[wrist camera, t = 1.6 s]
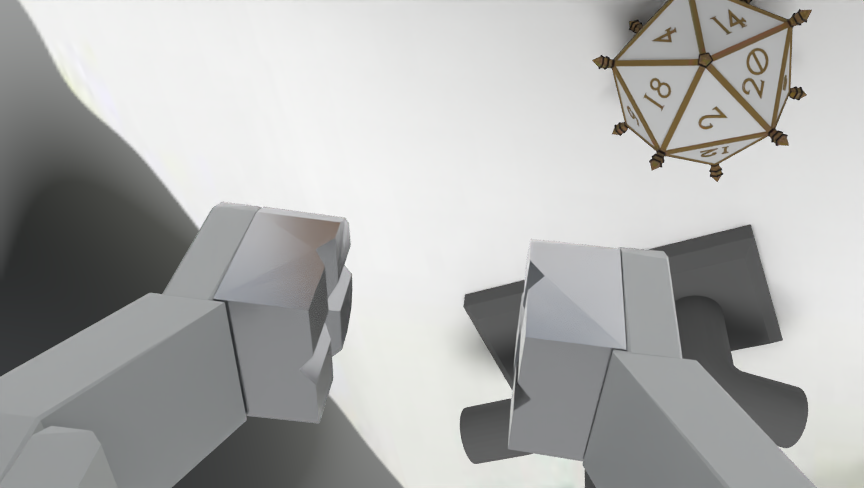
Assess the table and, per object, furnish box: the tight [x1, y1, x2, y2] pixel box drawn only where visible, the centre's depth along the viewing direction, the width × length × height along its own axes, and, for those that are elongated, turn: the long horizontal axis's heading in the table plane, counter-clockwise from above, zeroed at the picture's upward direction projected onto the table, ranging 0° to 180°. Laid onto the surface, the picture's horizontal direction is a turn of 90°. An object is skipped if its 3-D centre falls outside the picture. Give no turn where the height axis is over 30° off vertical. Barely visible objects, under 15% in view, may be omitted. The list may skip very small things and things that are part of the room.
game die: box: [592, 0, 812, 182], centre depth 34 cm, size 9×8×10 cm
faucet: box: [460, 225, 808, 488], centre depth 43 cm, size 18×16×20 cm
